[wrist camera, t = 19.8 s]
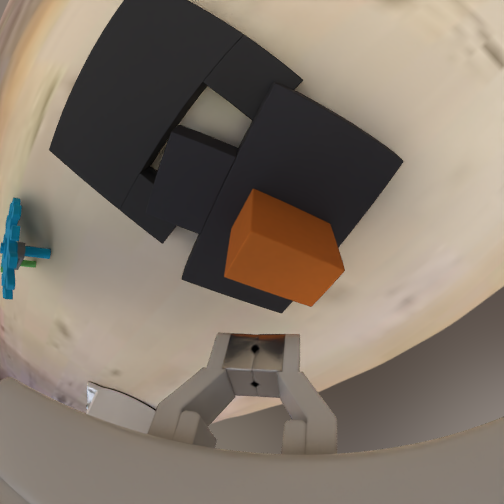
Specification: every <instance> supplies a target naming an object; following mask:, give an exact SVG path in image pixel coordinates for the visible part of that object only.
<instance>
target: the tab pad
mask: <svg viewBox="0 0 504 504" xmlns="http://www.w3.org/2000/svg"><path fill="white" fill-rule="evenodd" d="M402 163H403V160H402V159H401V158H400V157H399V156H398V155H397V154H395V153H394V152H393V151H392V150H390V149H389V148H388V147H386V146H385V145H384V144H382V143H381V142H379V141H378V140H376V139H375V138H374V137H372V136H371V135H369V134H368V133H366V132H365V131H363V130H362V129H360V128H359V127H357V126H355V125H354V124H352V123H351V122H349V121H348V120H346V119H344V118H343V117H341V116H339V115H338V114H336V113H334V112H333V111H331V110H329V109H328V108H326V107H324V106H322V105H321V104H319V103H317V102H315V101H313V100H312V99H310V98H308V97H306V96H304V95H302V94H300V93H298V92H296V91H294V90H292V89H291V88H289V87H286V86H284V85H282V84H280V83H278V82H276V81H274V82H273V83H272V85H271V87H270V89H269V91H268V92H267V94H266V96H265V98H264V100H263V102H262V104H261V105H260V107H259V109H258V111H257V113H256V115H255V117H254V119H253V121H252V123H251V125H250V127H249V129H248V131H247V133H246V134H245V136H244V138H243V140H242V142H241V144H240V146H239V148H236V147H234V146H232V145H229V144H227V143H224V142H222V141H220V140H217V139H215V138H212V137H210V136H207V135H205V134H202V133H200V132H197V131H194V130H192V129H189V128H187V127H184V126H181V125H178V126H177V127H176V128H175V129H174V130H173V131H172V132H171V134H170V136H169V139H168V142H167V145H166V148H165V151H164V154H163V157H162V160H161V163H160V166H159V169H158V172H157V175H156V179H155V182H154V185H153V188H152V192H151V195H150V199H149V202H148V206H147V210H146V213H147V214H149V215H152V216H154V217H157V218H159V219H162V220H165V221H167V222H170V223H172V224H175V225H178V226H180V227H183V228H185V229H188V230H190V231H193V232H196V233H198V234H199V235H198V237H197V239H196V241H195V244H194V246H193V248H192V251H191V253H190V256H189V258H188V260H187V263H186V265H185V268H184V272H183V275H182V280H184V281H187V282H190V283H193V284H195V285H198V286H201V287H204V288H207V289H210V290H212V291H215V292H218V293H221V294H224V295H227V296H230V297H233V298H236V299H239V300H242V301H245V302H248V303H251V304H254V305H257V306H260V307H263V308H266V309H269V310H272V311H276V312H279V313H283V312H284V310H285V309H286V308H287V307H288V306H289V305H290V304H291V303H292V301H295V302H298V303H301V304H304V305H307V306H310V307H311V306H313V305H314V304H315V302H316V301H317V300H318V299H319V298H320V297H321V296H322V295H323V294H324V293H325V292H326V291H327V290H328V289H329V288H330V286H331V285H332V284H333V283H334V282H335V281H336V280H337V279H338V278H339V277H340V275H341V274H342V273H343V272H344V271H345V269H344V266H343V262H342V259H341V256H340V252H339V249H338V247H339V246H340V245H341V244H342V242H343V241H344V240H345V239H346V237H347V236H348V235H349V234H350V232H351V231H352V230H353V229H354V227H355V226H356V225H357V223H358V222H359V221H360V220H361V218H362V217H363V216H364V214H365V213H366V212H367V211H368V209H369V208H370V207H371V205H372V204H373V203H374V201H375V200H376V199H377V197H378V196H379V195H380V193H381V192H382V191H383V189H384V188H385V187H386V185H387V184H388V183H389V181H390V180H391V179H392V177H393V176H394V174H395V173H396V172H397V170H398V169H399V167H400V166H401V165H402Z"/></svg>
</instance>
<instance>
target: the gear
mask: <svg viewBox="0 0 504 504" xmlns="http://www.w3.org/2000/svg"><path fill="white" fill-rule="evenodd" d="M20 203H21V200H20V199H18V198H13V201H12V203H11V204H10V209H9V215H8V216H7V220H6V232H5V234H4V239H3V243H1V247H0V253H3V255H2V263H1V272H3V274H2V286H3V298H5V299H13V290H14V289H15V272H14V269H15V270H18V268H19V267H20V266H24V267H36V261H29V260H23V259H24V256H28V257H37V258H46V259H50V256H51V250H50V249H46V248H38V247H30V246H25V243H23V242H16V241H19V236H20V226H17V224H18V220H20V217H21V209H22V206H21V205H20Z"/></svg>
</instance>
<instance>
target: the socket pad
mask: <svg viewBox="0 0 504 504" xmlns="http://www.w3.org/2000/svg"><path fill="white" fill-rule="evenodd" d="M274 81H276V82H278V83H280V84H282V85H284V86H286V87H289V88H291V89H292V90H294V89H295V88H296V87H297V86H298V85H299V84H300V83H301V82H302V81H303V79H301V78H300V77H299V76H298V75H297V74H295V73H294V72H293V71H292V70H291V69H289V68H288V67H287V66H286V65H284V64H283V63H282V62H281V61H279V60H278V59H277V58H275V57H274V56H273V55H272V54H270V53H269V52H268V51H266V50H265V49H264V48H262V47H261V46H259V45H258V44H257V43H255V42H254V41H252V40H251V39H250V38H248V37H247V36H245V35H244V34H242V33H241V32H239V31H238V30H236V29H235V28H233V27H232V26H230V25H229V24H227V23H225V22H224V21H222V20H221V19H219V18H217V17H216V16H214V15H212V14H211V13H209V12H207V11H205V10H204V9H202V8H200V7H198V6H197V5H195V4H193V3H191V2H189V1H187V0H124V1H123V2H122V4H121V5H120V6H119V8H118V9H117V11H116V12H115V14H114V15H113V17H112V18H111V20H110V21H109V23H108V24H107V26H106V27H105V29H104V31H103V32H102V34H101V35H100V37H99V39H98V40H97V42H96V44H95V46H94V47H93V49H92V51H91V53H90V55H89V56H88V58H87V60H86V62H85V64H84V66H83V68H82V70H81V72H80V74H79V76H78V78H77V80H76V82H75V84H74V86H73V89H72V91H71V93H70V95H69V98H68V100H67V102H66V105H65V107H64V109H63V112H62V115H61V117H60V120H59V122H58V125H57V128H56V131H55V133H54V136H53V139H52V142H51V145H50V148H49V150H50V151H51V152H52V153H53V154H54V155H55V156H56V157H57V158H59V159H60V160H61V161H62V162H63V163H64V164H65V165H67V166H68V167H69V168H70V169H71V170H72V171H74V172H75V173H76V174H77V175H78V176H79V177H81V178H82V179H83V180H84V181H85V182H86V183H88V184H89V185H90V186H91V187H92V188H94V189H95V190H96V191H97V192H98V193H100V194H101V195H102V196H103V197H104V198H106V199H107V200H108V201H109V202H110V203H112V204H113V205H114V206H115V207H117V208H118V209H119V210H120V211H121V212H123V213H124V214H125V215H126V216H128V217H129V218H130V219H131V220H133V221H134V222H135V223H136V224H138V225H139V226H140V227H142V228H143V229H144V230H145V231H147V232H148V233H149V234H150V235H152V236H153V237H154V238H156V239H157V240H158V241H160V242H161V243H162V244H163V243H164V241H165V240H166V239H167V237H168V236H169V235H170V233H171V232H172V231H173V229H174V228H175V227H176V225H175V224H172V223H170V222H167V221H165V220H162V219H159V218H157V217H154V216H152V215H149V214H147V213H146V210H147V206H148V202H149V199H150V195H151V192H152V188H153V185H154V182H155V179H156V175H157V171H155V170H154V169H153V168H152V167H150V166H151V164H152V162H153V161H154V159H155V158H156V156H157V155H158V153H159V152H160V150H161V148H162V147H163V145H164V144H165V142H166V141H167V139H168V138H169V136H170V134H171V132H172V131H173V130H174V129H175V128H176V126H177V125H178V124H179V122H180V121H181V119H182V118H183V117H184V115H185V114H186V113H187V111H188V110H189V109H190V107H191V106H192V105H193V103H194V102H195V101H196V99H197V98H198V97H199V95H200V94H201V93H202V92H203V90H204V89H205V88H206V87H207V86H209V87H210V88H211V89H213V90H214V91H215V92H217V93H218V94H219V95H221V96H222V97H223V98H225V99H226V100H227V101H229V102H230V103H231V104H233V105H234V106H235V107H236V108H238V109H239V110H240V111H241V112H243V113H244V114H245V115H246V116H248V117H249V118H250V119H251V120H253V119H254V117H255V115H256V113H257V111H258V109H259V107H260V105H261V104H262V102H263V100H264V98H265V96H266V94H267V92H268V91H269V89H270V87H271V85H272V83H273V82H274Z"/></svg>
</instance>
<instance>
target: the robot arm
mask: <svg viewBox="0 0 504 504" xmlns="http://www.w3.org/2000/svg"><path fill="white" fill-rule="evenodd" d="M235 395H238V396H260V397H276V398H280V399H281V401H282V403H283V405H284V406H285V408H286V410H287V411H288V413H289V415H290V417H291V419H292V420H288V421H287V422H286V423H285V425H284V434H283V442H282V451H281V454H264V453H252V452H251V453H250V452H240V451H233V450H224V449H217V448H215V445H216V438H215V437H214V436H213V434H212V433H211V431H210V430H209V428H208V426H209V425H210V424H211V423H212V422H213V421H214V420H215V418H216V417H217V416H218V415H219V414H220V413H221V412H222V411H223V410H224V409H225V408H226V406H227V405H228V404H229V403H230V402H231V401H232V400H233V399H234V398H235ZM87 400H88V404H87V406H86V407H87V409H88V410H87V412H86V413H83V412H81V411H78V410H76V409H74V408H71V407H69V406H67V405H65V404H62V403H60V402H58V401H56V400H54V399H52V398H50V397H48V396H46V395H44V394H42V393H40V392H38V391H36V390H34V389H32V388H30V387H28V386H26V385H24V384H23V383H21V382H19V381H18V380H16V379H14V378H12V377H7V378H5V379H3V380H1V381H0V504H504V417H501V418H499V419H497V420H494V421H491V422H489V423H486V424H483V425H480V426H478V427H475V428H472V429H469V430H465V431H462V432H459V433H456V434H453V435H449V436H445V437H441V438H438V439H433V440H430V441H425V442H420V443H415V444H410V445H405V446H400V447H394V448H387V449H380V450H373V451H364V452H354V453H341V454H337V418H336V417H335V415H334V414H333V412H332V411H331V410H330V408H329V407H328V406H327V404H326V403H325V402H324V400H323V399H322V398H321V396H320V395H319V394H318V392H317V391H316V389H315V388H314V387H313V385H312V384H311V383H310V381H309V380H308V378H307V377H306V376H305V374H304V373H303V372H300V334H258V335H253V334H234V333H218V334H217V336H216V338H215V342H214V345H213V348H212V352H211V355H210V358H209V362H208V365H207V368H204V367H203V368H202V369H200V370H199V371H198V372H197V373H196V374H195V375H193V376H192V377H191V378H190V379H189V380H187V381H186V382H185V383H184V384H183V385H181V386H180V387H179V388H178V389H176V390H175V391H174V392H173V393H172V394H170V395H169V396H168V397H167V398H165V399H164V400H163V401H162V402H160V403H159V404H158V406H157V409H156V411H155V410H153V409H152V408H150V407H148V406H147V405H145V404H143V403H141V402H140V401H138V400H136V399H134V398H132V397H129V396H127V395H125V394H122V393H120V392H117V391H114V390H111V389H107V388H103V387H100V386H98V385H96V384H93V383H90V382H88V385H87Z"/></svg>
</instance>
